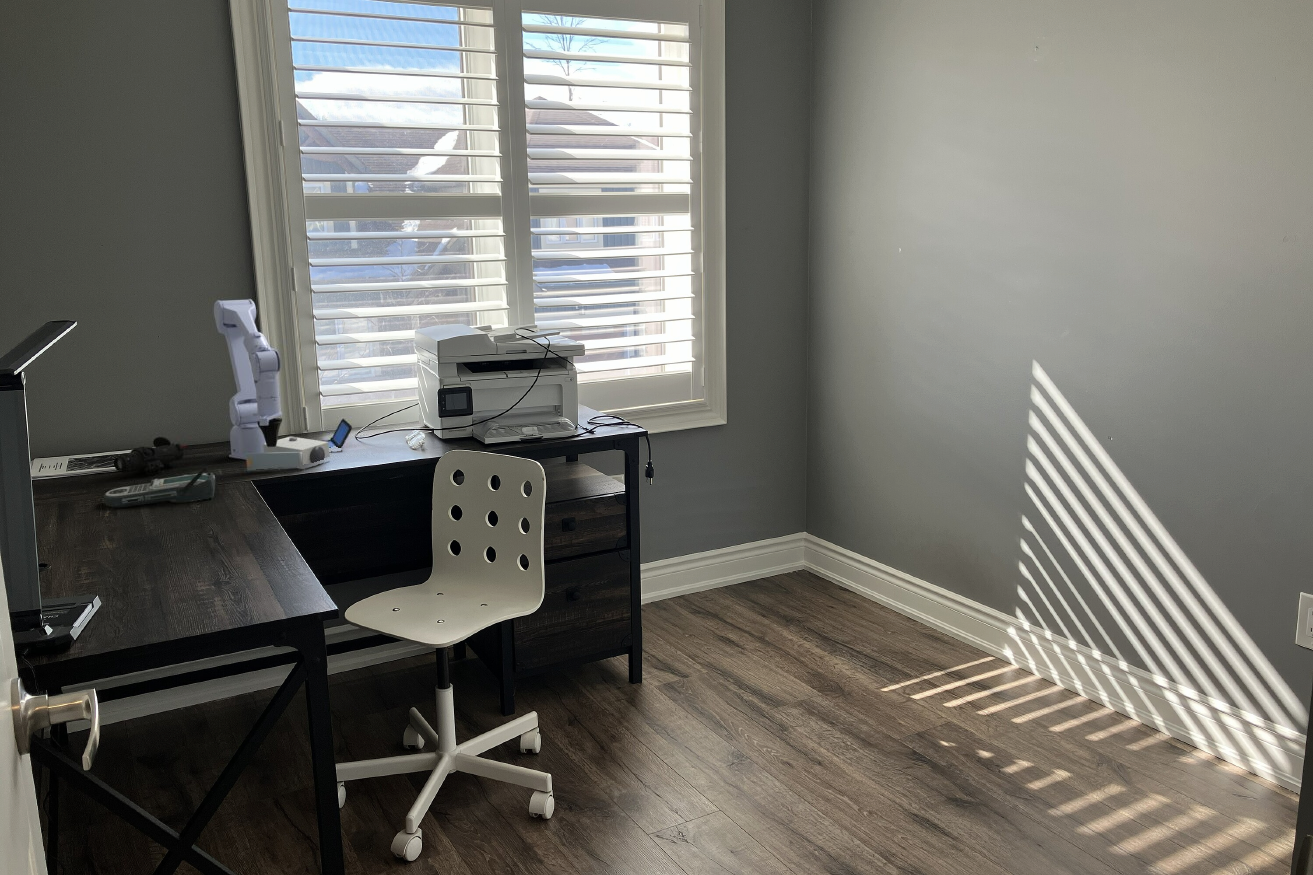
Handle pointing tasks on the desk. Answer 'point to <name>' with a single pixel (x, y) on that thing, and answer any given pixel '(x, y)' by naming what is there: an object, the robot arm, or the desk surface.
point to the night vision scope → (150, 457)
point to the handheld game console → (340, 434)
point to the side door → (273, 460)
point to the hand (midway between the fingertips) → (271, 446)
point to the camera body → (301, 448)
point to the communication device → (164, 490)
